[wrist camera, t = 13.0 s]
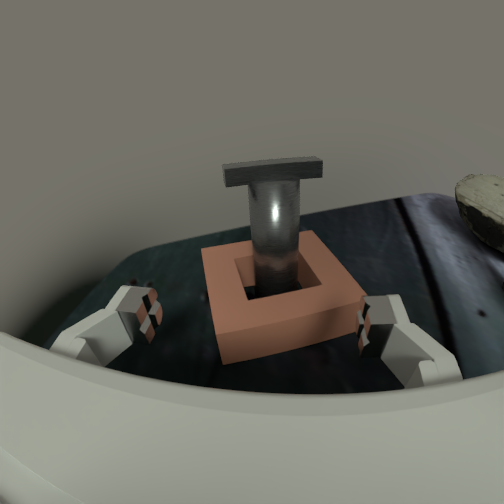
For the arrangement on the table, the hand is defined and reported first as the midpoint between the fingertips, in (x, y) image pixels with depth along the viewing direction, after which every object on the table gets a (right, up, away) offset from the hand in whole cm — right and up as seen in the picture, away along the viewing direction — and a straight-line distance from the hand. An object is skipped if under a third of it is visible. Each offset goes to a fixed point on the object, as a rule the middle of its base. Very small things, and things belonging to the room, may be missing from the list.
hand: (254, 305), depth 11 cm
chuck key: (+2, -2, +12) cm, 12 cm away
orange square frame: (+2, -2, +12) cm, 12 cm away
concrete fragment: (+33, +4, +17) cm, 37 cm away
